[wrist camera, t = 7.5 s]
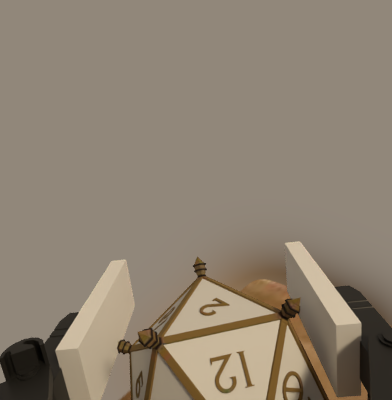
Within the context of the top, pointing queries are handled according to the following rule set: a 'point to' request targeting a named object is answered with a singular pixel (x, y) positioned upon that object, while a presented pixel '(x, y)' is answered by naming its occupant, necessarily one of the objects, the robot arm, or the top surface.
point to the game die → (221, 349)
